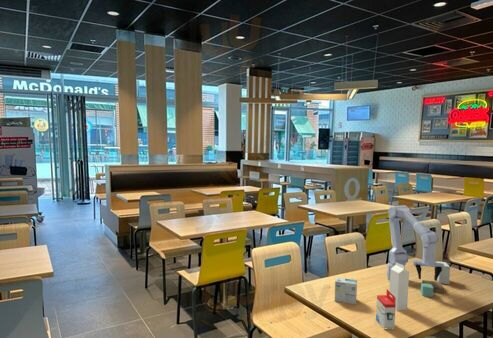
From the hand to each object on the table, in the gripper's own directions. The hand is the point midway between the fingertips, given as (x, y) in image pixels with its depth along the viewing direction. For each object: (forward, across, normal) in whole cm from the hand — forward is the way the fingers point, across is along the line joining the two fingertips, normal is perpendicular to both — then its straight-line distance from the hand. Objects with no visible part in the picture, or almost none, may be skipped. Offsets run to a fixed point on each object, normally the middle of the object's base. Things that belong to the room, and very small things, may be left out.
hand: (427, 279), depth 180 cm
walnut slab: (+9, +5, +9) cm, 14 cm away
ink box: (+9, -25, -39) cm, 47 cm away
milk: (+8, -17, -20) cm, 28 cm away
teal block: (+8, 0, 0) cm, 8 cm away
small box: (+8, +13, +22) cm, 27 cm away
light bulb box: (+9, -42, -20) cm, 47 cm away
